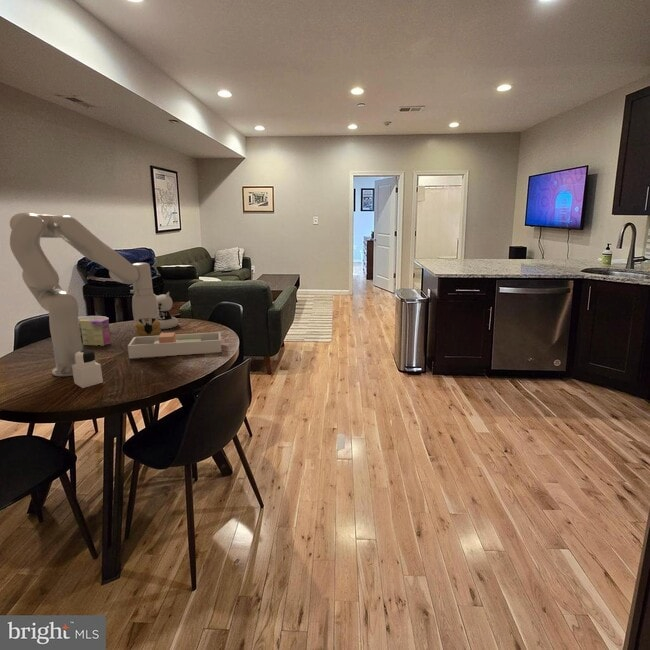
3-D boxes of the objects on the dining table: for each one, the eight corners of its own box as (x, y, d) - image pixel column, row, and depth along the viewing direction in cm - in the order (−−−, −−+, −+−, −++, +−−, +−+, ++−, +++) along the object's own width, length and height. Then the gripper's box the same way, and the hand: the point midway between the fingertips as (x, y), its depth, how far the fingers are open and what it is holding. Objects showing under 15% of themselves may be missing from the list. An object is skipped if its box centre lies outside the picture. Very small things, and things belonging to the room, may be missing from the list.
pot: (132, 340, 206) (130, 320, 203) (142, 334, 217) (140, 315, 214) (156, 340, 206) (154, 320, 203) (165, 334, 217) (163, 315, 215)
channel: (221, 353, 187) (220, 340, 185) (129, 359, 178) (127, 345, 176) (221, 344, 200) (220, 332, 198) (135, 349, 191) (133, 337, 189)
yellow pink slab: (121, 333, 218) (119, 318, 216) (75, 344, 199) (72, 327, 197) (94, 326, 231) (92, 312, 229) (49, 335, 212) (47, 320, 210)
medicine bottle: (94, 378, 157) (90, 347, 154) (103, 382, 153) (99, 351, 150) (74, 383, 152) (69, 351, 149) (82, 388, 147) (77, 356, 144)
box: (111, 342, 202) (108, 318, 199) (104, 346, 196) (101, 321, 193) (91, 341, 203) (87, 318, 200) (83, 345, 197) (79, 320, 194)
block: (174, 345, 184) (173, 336, 183) (159, 346, 183) (158, 337, 182) (175, 340, 191) (174, 332, 190) (161, 341, 189) (160, 333, 188)
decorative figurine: (144, 329, 226) (140, 292, 221) (160, 323, 240) (157, 288, 235) (168, 331, 223) (165, 293, 218) (183, 324, 237) (181, 289, 232)
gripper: (122, 294, 174) (129, 337, 179) (161, 292, 178) (166, 334, 182) (126, 291, 181) (132, 332, 186) (163, 289, 185) (168, 329, 189)
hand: (149, 333), depth 184 cm, fingers closed
